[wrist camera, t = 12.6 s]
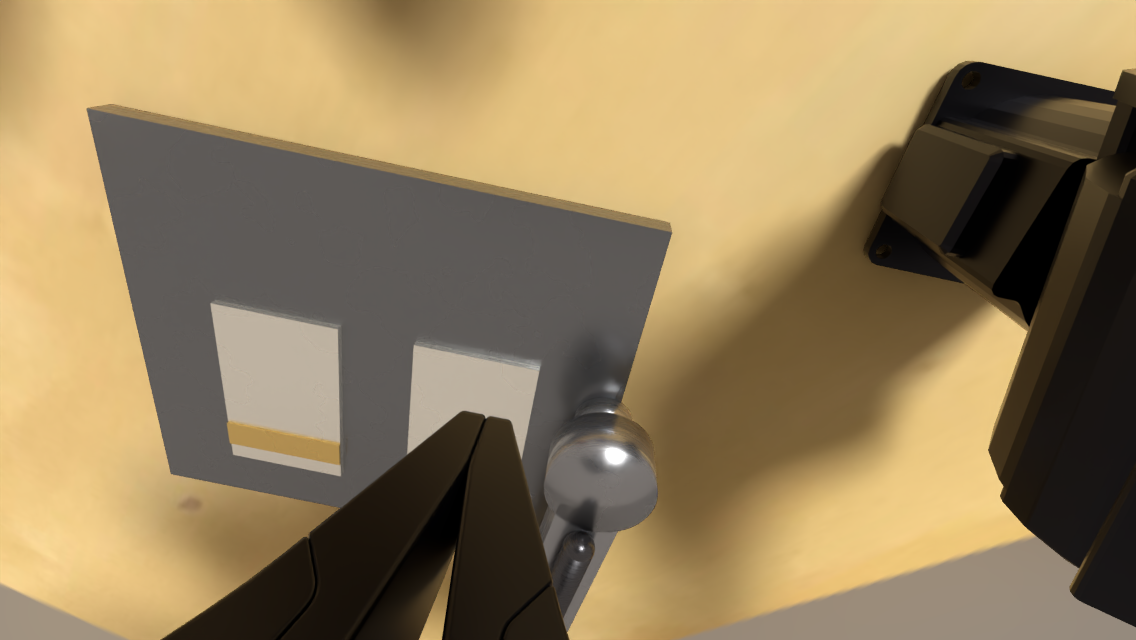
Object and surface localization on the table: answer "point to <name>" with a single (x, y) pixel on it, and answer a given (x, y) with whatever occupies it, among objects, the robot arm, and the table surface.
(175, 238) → the panel
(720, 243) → the table surface
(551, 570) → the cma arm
